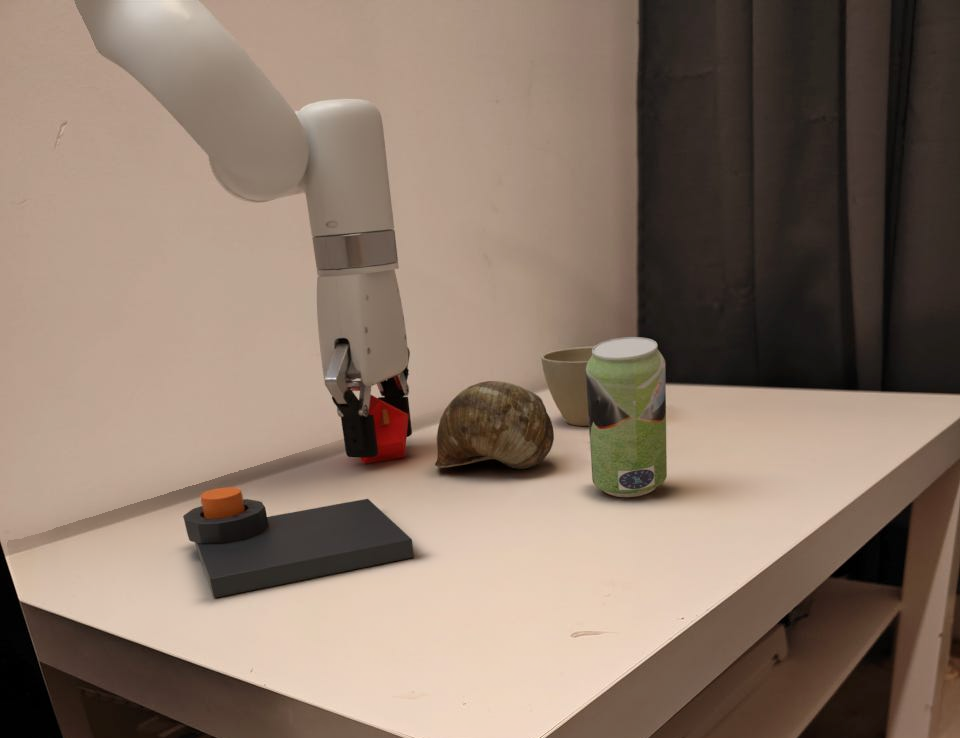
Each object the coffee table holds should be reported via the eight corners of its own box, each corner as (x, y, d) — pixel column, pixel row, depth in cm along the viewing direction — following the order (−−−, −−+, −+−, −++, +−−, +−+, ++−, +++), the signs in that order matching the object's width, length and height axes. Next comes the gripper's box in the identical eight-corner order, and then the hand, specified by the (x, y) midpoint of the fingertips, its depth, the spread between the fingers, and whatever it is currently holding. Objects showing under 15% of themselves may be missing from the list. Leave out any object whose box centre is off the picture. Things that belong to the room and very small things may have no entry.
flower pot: (554, 435, 97) (551, 364, 94) (537, 416, 106) (533, 351, 103) (648, 425, 97) (648, 354, 94) (623, 407, 106) (622, 342, 103)
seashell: (574, 461, 86) (571, 373, 83) (516, 488, 80) (509, 393, 77) (479, 451, 93) (472, 369, 90) (417, 475, 87) (407, 387, 83)
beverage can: (663, 478, 79) (664, 330, 74) (671, 503, 73) (672, 344, 68) (589, 481, 80) (584, 336, 75) (589, 507, 73) (585, 350, 68)
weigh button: (207, 524, 68) (202, 501, 68) (202, 514, 71) (197, 491, 70) (248, 516, 69) (243, 494, 69) (242, 507, 72) (238, 484, 71)
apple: (334, 400, 95) (348, 381, 87) (399, 404, 97) (419, 386, 89) (335, 469, 95) (350, 455, 87) (400, 471, 97) (420, 458, 89)
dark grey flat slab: (207, 599, 62) (197, 557, 61) (188, 545, 73) (180, 508, 72) (414, 557, 66) (409, 517, 65) (367, 511, 77) (362, 476, 76)
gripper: (361, 251, 94) (383, 426, 102) (271, 266, 80) (304, 469, 87) (429, 246, 92) (447, 426, 99) (349, 260, 77) (377, 470, 85)
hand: (380, 445), depth 93 cm, fingers closed on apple, 7 cm apart
